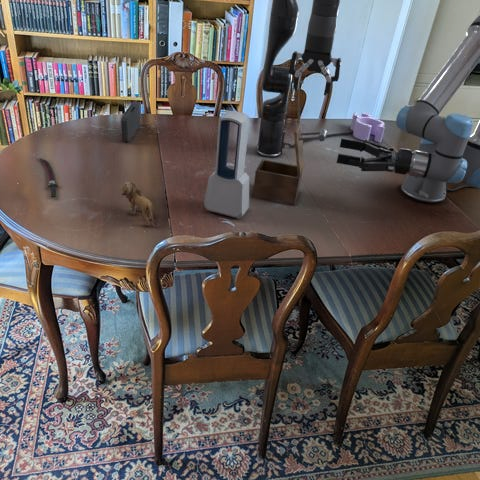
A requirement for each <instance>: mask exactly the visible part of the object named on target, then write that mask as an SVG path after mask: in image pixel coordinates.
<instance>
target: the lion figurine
mask: <svg viewBox="0 0 480 480" xmlns="http://www.w3.org/2000/svg"><path fill="white" fill-rule="evenodd" d="M119 193H120V194H121V196H122V197H124V196H125V198H126V199H127V200H128V202H129V203H130V207H131V211H130V212H129V213H130V215H135V214H136V211H137V212H141V214H142V216H143V218H144V219H145V223H144V225H145V227H149V226H150V221H152V223H153V225H155V226H159V222H156V221H155V219H154V217H153V216H154V215H153V204H152V202H151V200H150V199H148V198H146V197H145V196H144V195H143V194H142V192H141V190H140V187H138V185H136V184H135V183H133V182H132V181H125V182H124V186H122V188H121V189H119ZM136 207H137V208H136ZM148 214H149V216H148Z"/></svg>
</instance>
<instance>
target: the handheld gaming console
mask: <svg viewBox="0 0 480 480" xmlns="http://www.w3.org/2000/svg"><path fill="white" fill-rule="evenodd" d="M120 125H121V126H120V127H121V128H120V131H121V141H122V142H123V143H129V142H130V141H131V139H132V138H133V136H134V134H136V131H137V130H138V129H139V127H140V125H141V103H140V101H132V103H131V104H130V105H129V107H128V108H127V109H126V111H124V113H123V115H122V116H121V117H120Z"/></svg>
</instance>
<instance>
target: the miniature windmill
mask: <svg viewBox="0 0 480 480" xmlns="http://www.w3.org/2000/svg"><path fill="white" fill-rule="evenodd" d="M303 65H304V62H303V60H302V61H301V67H302V66H303ZM301 67H297V66H295V69H294V70H296V71H298V70H299V69H300V68H301ZM289 68H290V66H289ZM299 77H300V80H299V86H298V90H297V95H293V94H294V92H295V88H293V87H292V90H291V93H290V94H291V95H290V96H289V99H288V102H287V109H286V116H285V122H286V121H287V122H293V123H296V125H297V124H298V122H301V95H300V94H301V93H300V92H301V91H300V90H301V89H300V88H301V87H300V85H303V84H304V83H305V82H304V80H301V79H302V74H301V75H300V76H299ZM291 84H294V79H292V81H291ZM291 100H297V104H291ZM289 106H291V107H289ZM292 107H297V108H292ZM288 110H294V111H297V114H296V115H292V114H287V113H288ZM286 117H292V118H296V119H297V120H292V119H286Z"/></svg>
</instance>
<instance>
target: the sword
mask: <svg viewBox="0 0 480 480" xmlns="http://www.w3.org/2000/svg"><path fill="white" fill-rule="evenodd" d="M40 161H41V162H42V163H43V165H44V166H45V169H46V173H47V176H48V185H47V188H50V198H56V197H57V189H56V188H57V187H59V185H58V184H57V183H56V180H55V176H54V172H53V169H52V167H51V164H50V163H49V161H48V160H46V159H43V158H40Z"/></svg>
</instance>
